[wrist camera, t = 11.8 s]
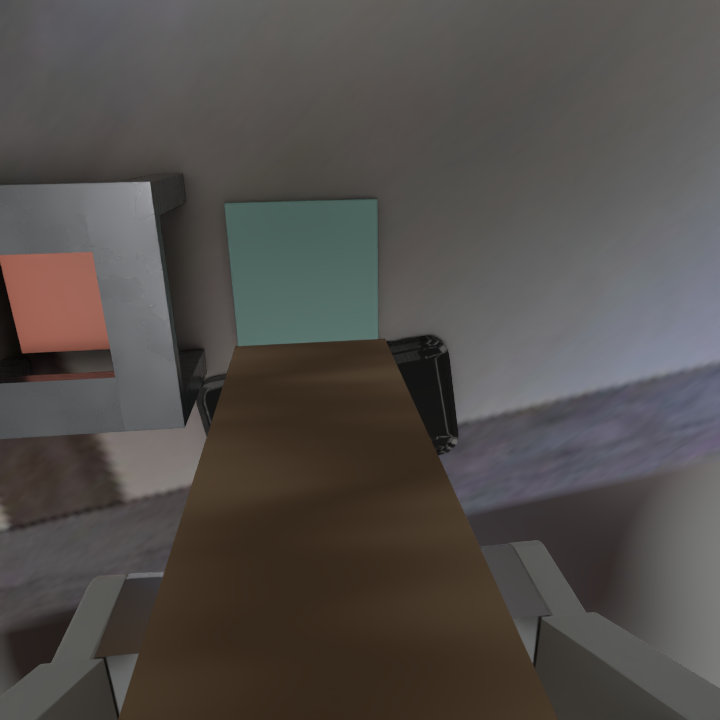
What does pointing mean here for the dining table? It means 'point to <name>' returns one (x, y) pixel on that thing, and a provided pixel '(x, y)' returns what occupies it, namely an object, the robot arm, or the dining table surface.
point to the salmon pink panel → (55, 301)
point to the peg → (327, 562)
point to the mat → (304, 270)
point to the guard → (120, 307)
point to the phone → (421, 375)
